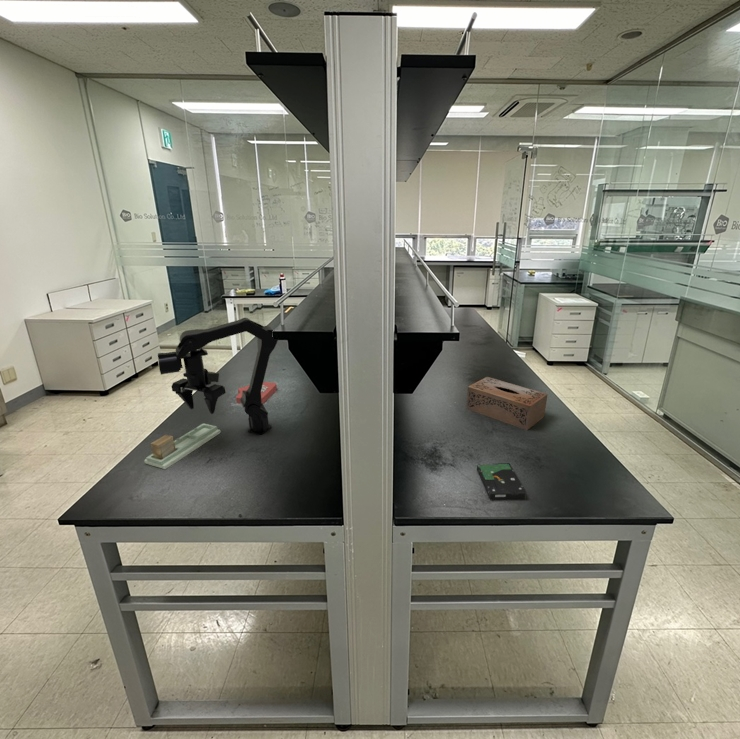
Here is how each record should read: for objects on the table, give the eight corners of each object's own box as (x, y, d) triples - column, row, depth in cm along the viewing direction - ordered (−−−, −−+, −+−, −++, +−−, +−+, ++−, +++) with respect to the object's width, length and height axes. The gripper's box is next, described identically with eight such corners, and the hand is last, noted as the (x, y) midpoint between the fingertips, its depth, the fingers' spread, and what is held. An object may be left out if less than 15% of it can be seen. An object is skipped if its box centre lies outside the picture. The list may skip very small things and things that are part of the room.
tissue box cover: (544, 417, 162) (547, 394, 158) (526, 430, 152) (530, 406, 149) (484, 398, 179) (486, 376, 175) (466, 409, 170) (467, 386, 166)
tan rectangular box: (176, 452, 140) (173, 436, 138) (161, 461, 135) (158, 445, 132) (169, 450, 141) (165, 434, 139) (154, 459, 136) (150, 443, 134)
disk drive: (526, 501, 117) (508, 469, 131) (527, 492, 116) (509, 462, 130) (489, 502, 117) (475, 470, 130) (490, 493, 116) (476, 462, 129)
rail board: (220, 432, 154) (219, 426, 153) (165, 469, 133) (163, 462, 132) (202, 428, 157) (200, 422, 156) (144, 463, 136) (143, 456, 135)
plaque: (247, 379, 193) (277, 381, 190) (248, 387, 194) (278, 389, 192) (227, 395, 177) (260, 398, 174) (229, 403, 178) (261, 406, 175)
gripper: (233, 364, 142) (239, 406, 147) (192, 357, 149) (199, 397, 155) (209, 376, 132) (216, 419, 138) (166, 368, 139) (175, 410, 145)
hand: (202, 411), depth 144 cm, fingers open, 9 cm apart
